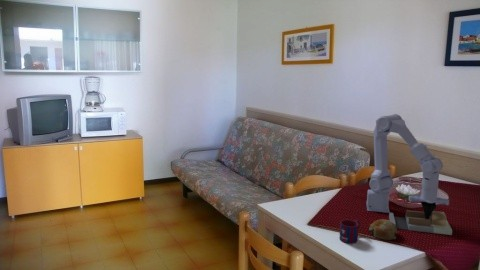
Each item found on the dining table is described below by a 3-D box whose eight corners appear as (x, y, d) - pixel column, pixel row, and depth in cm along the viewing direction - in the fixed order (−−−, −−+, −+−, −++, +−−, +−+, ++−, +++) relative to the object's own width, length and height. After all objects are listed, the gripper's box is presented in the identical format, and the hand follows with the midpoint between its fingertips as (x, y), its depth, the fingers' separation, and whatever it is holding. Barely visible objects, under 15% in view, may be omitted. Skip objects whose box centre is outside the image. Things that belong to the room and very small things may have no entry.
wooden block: (431, 224, 150) (432, 215, 149) (429, 219, 155) (430, 210, 154) (445, 226, 148) (446, 216, 148) (442, 221, 153) (443, 212, 152)
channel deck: (391, 228, 152) (392, 217, 151) (389, 216, 163) (389, 207, 162) (451, 235, 145) (452, 224, 144) (445, 222, 156) (446, 212, 156)
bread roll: (388, 250, 141) (399, 235, 138) (363, 234, 145) (374, 218, 142) (393, 240, 149) (403, 225, 146) (369, 224, 153) (379, 210, 150)
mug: (335, 238, 143) (336, 222, 142) (352, 232, 148) (353, 216, 147) (349, 245, 138) (350, 228, 136) (366, 238, 143) (367, 221, 142)
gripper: (411, 189, 148) (408, 221, 151) (452, 192, 144) (448, 225, 147) (409, 183, 155) (406, 214, 158) (448, 187, 151) (444, 218, 153)
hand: (426, 219), depth 153 cm, fingers closed
